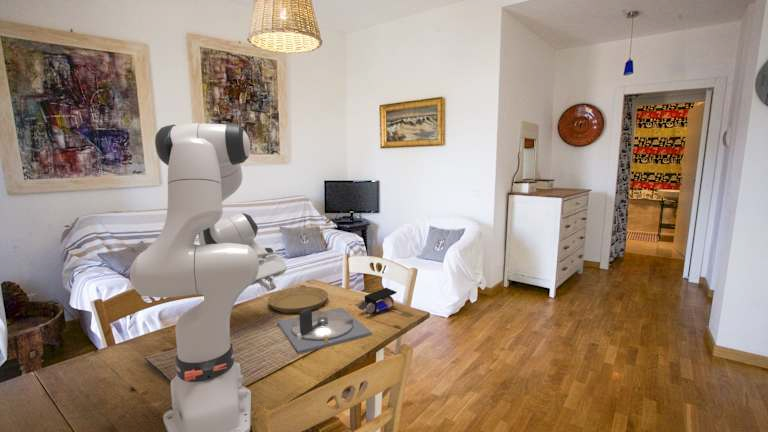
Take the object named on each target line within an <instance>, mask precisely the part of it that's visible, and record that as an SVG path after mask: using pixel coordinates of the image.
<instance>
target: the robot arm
mask: <svg viewBox="0 0 768 432" xmlns="http://www.w3.org/2000/svg"><path fill="white" fill-rule="evenodd" d="M154 139H155V140H154V144H155V151H156V154H157V156H158V158H159V160H160V161H162V162H163V163H164V164H165V165H166V166H167V210H166V219H165V222H164V226H163V228H162V230H161V232H160V233H159V235H158V236H157V238H156V239H155V240H154V241H153V243H151V244H150V245H149V246H148V247H147V248H146V249H145V250H143V251H141V252H140V253H139V254H138V255H137V256H136V258H135V259H134V260H133V262H132V263H131V266H130V269H129V278H130V283H131V286H132V288H133V290H135V291H136V292H137V294H139V296H141V297H149V298H150V297H151V298H175V297H176V298H177V297H184V296H193V295H202V296H203V300H202V301H201V302H200V303H199V304H197V305H195V306H194V307H191V308H190V309H188V310H187V311H185V312H184V313H183V314H182V315H180V317H179V318H178V319H177V320H176V323H175V328H174V329H175V342H176V352H177V354H176V356H175V368H176V375H175V376H174V378H173V379H172V380H171V381H170V392H171V406H170V409H169V410H168V411H166V412H165V413H164V414H163V416H162V421H163V424H164V427H165V428H166V431H167V432H250V431H251V422H252V421H251V419H252V417H251V416H252V414H251V413H252V393H251V390H250V389H248V388H247V387H246V386H243V385H242V381H243V382H244V374H241V364H240V363H238V362H236V361H235V358H234V357H235V356H234V355H235V353H234V352H235V351H234V348H233V343H231V316H232V315H231V314H232V311H233V307H234V305H235V304H236V302H237V300H238V298H239V297H240V295H241V294H242V293H243V292H244V291H245V290H247V289H248V288H249V287H250V286H254V285H256V284H259V286H261V287H263V288H265V290H266V291H267V292H270V291H273V290H275V289H276V288H277V284H276V283H275V278H276V277H279V276H282V275H284V273H285V272H286V271H287V268H288V267H287V264H286V263H285V262H284V260H283V259H282V257H281V256H280V255H279V254H278V253H276V249H275V248H274V247H267V246H266V247H265V246H260V245H259V244H258V243H257V242H256V241H255V238H256V237H257V234H258V231H259V227H258V225H257V223H256V222H255V220H254V219H253V217H252V216H251V215H250V214H247V213H246V212H245V213H244V212H241V213H237V214H235V215H232V216H230V217H229V218H227V219H224V220H222V221H220V219H221V218H222V216H223V202H224V201H225V200H227V199H228V198H229V197H231V196H232V195H233V194H234V193H236V192H237V191H238V189H239V188H240V186H241V185H242V182H243V170H242V165H241V164H243V163H244V162H246V160H247V159H248V158H249V155H250V151H251V141H250V138H249V135H248V133H247V131H246V129H245V128H243V127H242V126H241V125H239V124H235V123H226V124H222V123H202V122H194V123H193V122H191V123H183V124H178V125H177V124H169V125H165V126H162V127H160V129H158V131H157V133H156V134H155V137H154ZM219 221H220V222H219ZM197 236H198V243H199V244H195V241H196V238H197Z"/></svg>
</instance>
